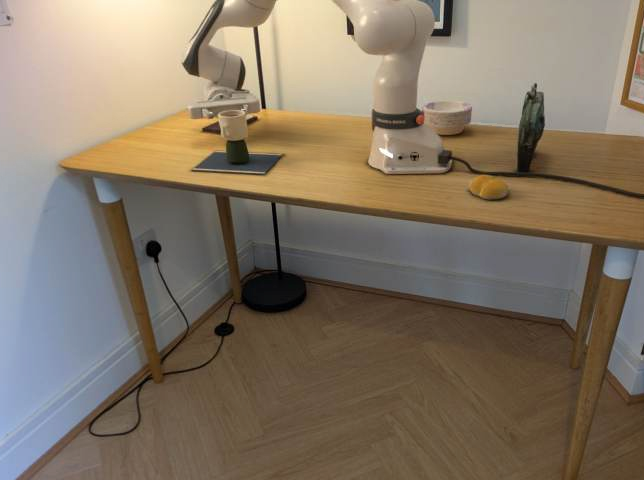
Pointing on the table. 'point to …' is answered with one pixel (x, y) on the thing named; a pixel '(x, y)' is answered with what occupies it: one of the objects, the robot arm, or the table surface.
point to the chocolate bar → (216, 128)
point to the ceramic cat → (530, 128)
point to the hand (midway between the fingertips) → (227, 114)
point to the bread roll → (488, 187)
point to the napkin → (238, 163)
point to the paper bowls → (447, 116)
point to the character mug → (234, 135)
